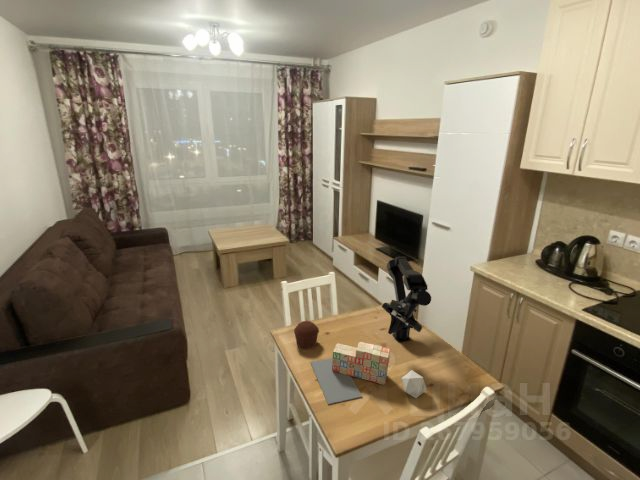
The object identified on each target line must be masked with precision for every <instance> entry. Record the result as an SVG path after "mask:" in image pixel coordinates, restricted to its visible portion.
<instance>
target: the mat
mask: <svg viewBox="0 0 640 480" xmlns="http://www.w3.org/2000/svg"><path fill="white" fill-rule="evenodd" d="M332 361H333V357H329V358H325V359H320V360H315V361H314V360H313V361H309V363H310V365H311V368H312V370H313V372H314V374H315V377H316V379H317V382H318V384H319V387H320V389H321V391H322V394H323V396H324V399H325V401H326V403H327V405H328V406H329V405H333V404H334V405H335V404H338V403H343V402H347V401H352V400H356V399H357V400H358V399H360V398H363V394H361V392H360V390H359V388H358V386H357V384H356V383H355V381H354V380H353V378H352V377H353V376H350V375H347V374H342V373H339V372H335V371H332Z"/></svg>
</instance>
